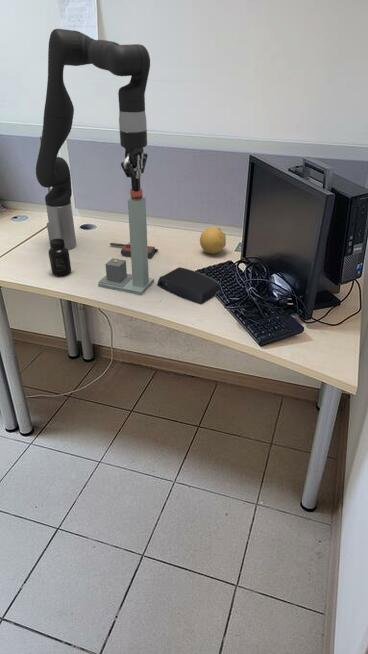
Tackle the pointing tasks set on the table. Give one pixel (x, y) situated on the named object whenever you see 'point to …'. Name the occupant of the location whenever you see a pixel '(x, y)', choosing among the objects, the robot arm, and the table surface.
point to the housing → (116, 270)
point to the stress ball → (212, 240)
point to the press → (135, 252)
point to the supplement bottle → (59, 258)
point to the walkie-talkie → (127, 250)
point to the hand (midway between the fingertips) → (136, 190)
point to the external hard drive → (189, 285)
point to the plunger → (136, 194)
